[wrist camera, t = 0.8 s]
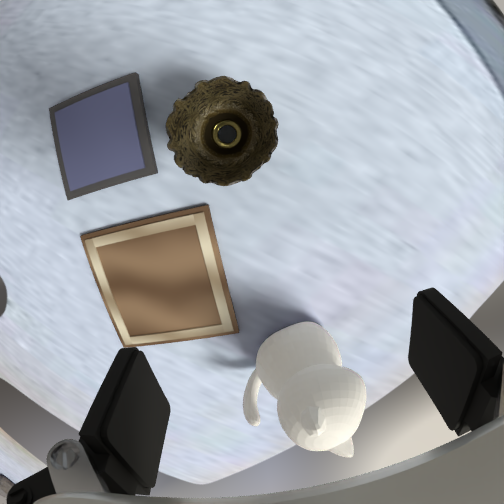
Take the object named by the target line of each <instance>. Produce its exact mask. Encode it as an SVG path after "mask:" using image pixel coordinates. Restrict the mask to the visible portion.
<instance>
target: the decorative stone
mask: <svg viewBox="0 0 504 504" xmlns="http://www.w3.org/2000/svg"><path fill="white" fill-rule="evenodd" d="M14 485H15V484H14V483H13V482H12V481H11V480H9V479H8V478H7V477H5V476H4V475H0V495H2V496H3V497H6V498H7V494H8V492H9V490H10V489H11V488H12V486H14Z"/></svg>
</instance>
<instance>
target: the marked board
mask: <svg viewBox="0 0 504 504" xmlns="http://www.w3.org/2000/svg"><path fill="white" fill-rule="evenodd" d="M80 237H81V240H82V243H83V246H84V249H85V252H86V255H87V258H88V261H89V264H90V267H91V270H92V272H93V275H94V278H95V281H96V283H97V286H98V288H99V291H100V294H101V296H102V299H103V301H104V304H105V306H106V308H107V311H108V313H109V316H110V318H111V320H112V323H113V325H114V327H115V329H116V332H117V334H118V336H119V338H120V340H121V343H122V345H123V347H124V348H126V347H137V346H146V345H155V344H164V343H172V342H180V341H188V340H195V339H202V338H209V337H216V336H223V335H229V334H235V333H239V328H238V324H237V320H236V316H235V312H234V308H233V304H232V300H231V296H230V292H229V288H228V284H227V280H226V276H225V272H224V268H223V264H222V260H221V256H220V252H219V247H218V243H217V239H216V235H215V231H214V226H213V222H212V218H211V213H210V209H209V205H203V206H199V207H194V208H190V209H185V210H181V211H176V212H172V213H168V214H163V215H159V216H155V217H150V218H146V219H142V220H138V221H134V222H130V223H126V224H122V225H118V226H114V227H110V228H106V229H103V230H99V231H95V232H91V233H88V234H84V235H82V236H80Z"/></svg>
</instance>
